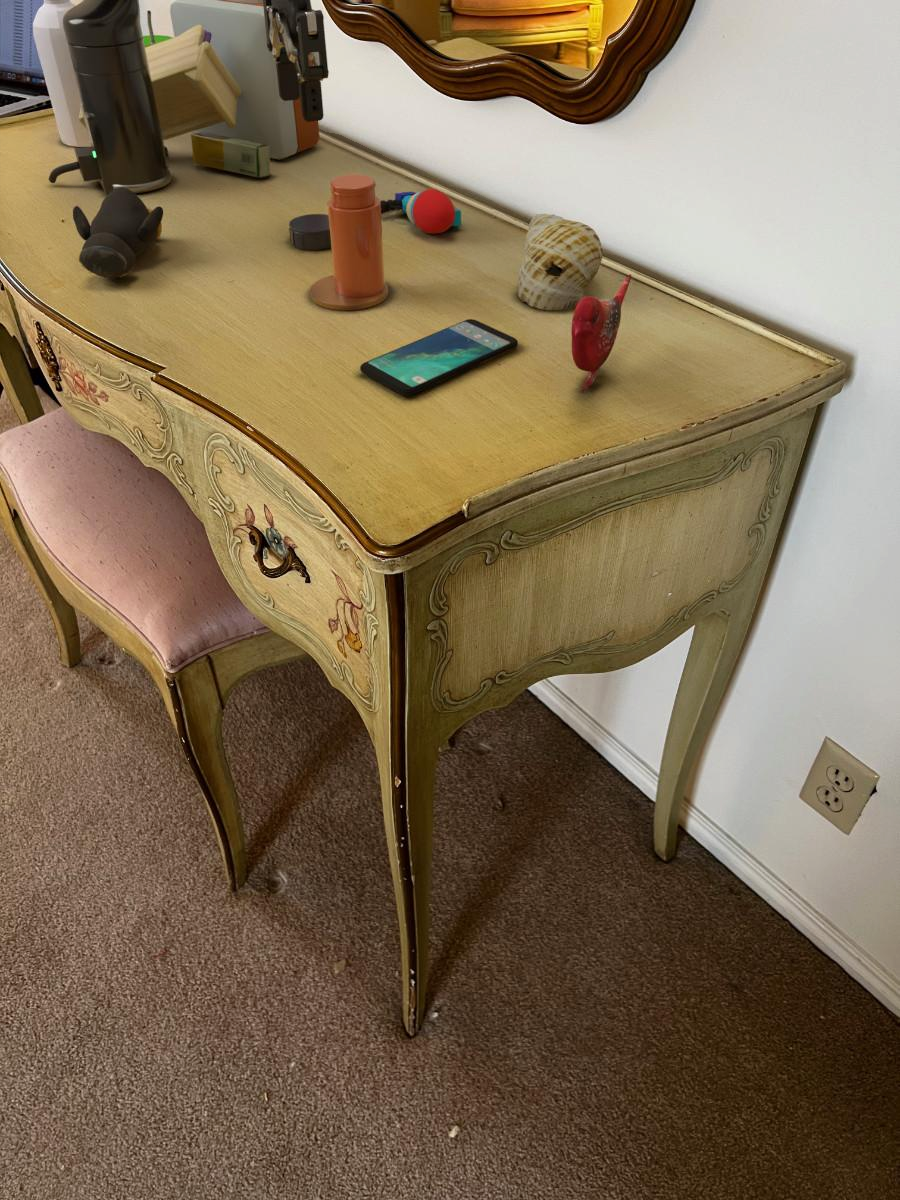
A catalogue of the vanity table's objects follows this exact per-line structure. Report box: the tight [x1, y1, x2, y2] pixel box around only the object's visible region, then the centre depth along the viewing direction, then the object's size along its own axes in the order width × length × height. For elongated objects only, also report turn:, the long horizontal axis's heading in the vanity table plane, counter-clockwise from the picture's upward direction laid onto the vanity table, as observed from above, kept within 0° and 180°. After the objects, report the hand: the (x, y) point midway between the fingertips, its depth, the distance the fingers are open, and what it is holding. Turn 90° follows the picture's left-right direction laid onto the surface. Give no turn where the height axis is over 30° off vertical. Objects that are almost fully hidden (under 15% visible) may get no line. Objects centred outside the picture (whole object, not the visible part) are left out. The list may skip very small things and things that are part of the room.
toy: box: [72, 187, 164, 279], centre depth 104 cm, size 10×7×15 cm
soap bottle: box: [32, 0, 91, 148], centre depth 134 cm, size 9×9×24 cm
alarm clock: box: [169, 0, 320, 160], centre depth 133 cm, size 18×9×21 cm, turn 58°
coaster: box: [310, 274, 389, 311], centre depth 100 cm, size 8×8×1 cm
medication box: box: [190, 132, 272, 179], centre depth 129 cm, size 12×3×4 cm, turn 62°
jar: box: [327, 173, 386, 298], centre depth 96 cm, size 5×5×11 cm
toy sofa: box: [79, 25, 241, 141], centre depth 129 cm, size 21×9×10 cm
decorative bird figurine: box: [570, 274, 632, 394], centre depth 84 cm, size 3×18×10 cm, turn 156°
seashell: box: [516, 213, 604, 311], centre depth 99 cm, size 10×10×10 cm
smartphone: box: [359, 318, 519, 397], centre depth 89 cm, size 7×1×15 cm
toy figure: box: [380, 188, 462, 235], centre depth 114 cm, size 8×5×15 cm
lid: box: [288, 213, 331, 251], centre depth 111 cm, size 6×6×2 cm
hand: (301, 109), depth 102 cm, fingers open, 8 cm apart
